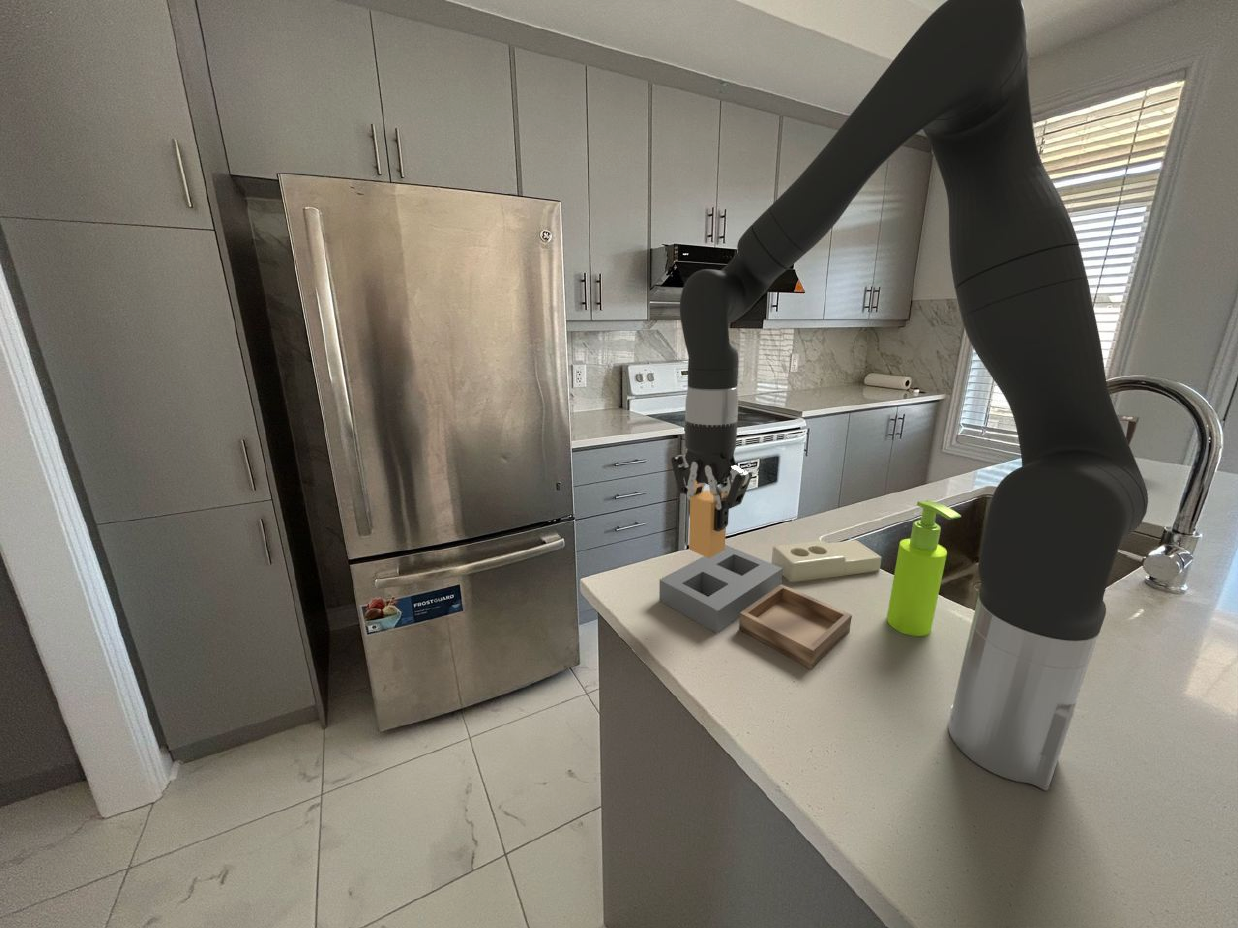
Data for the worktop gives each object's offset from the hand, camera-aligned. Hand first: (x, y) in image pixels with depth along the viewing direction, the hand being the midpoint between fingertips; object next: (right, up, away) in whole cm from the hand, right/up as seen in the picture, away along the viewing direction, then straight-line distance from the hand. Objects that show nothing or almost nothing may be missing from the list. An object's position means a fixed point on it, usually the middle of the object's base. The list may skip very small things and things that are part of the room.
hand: (707, 524), depth 75 cm
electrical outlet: (+25, -10, +16) cm, 31 cm away
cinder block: (+4, -13, +7) cm, 15 cm away
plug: (0, -4, +1) cm, 4 cm away
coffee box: (+126, +7, +62) cm, 140 cm away
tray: (+13, -16, -2) cm, 20 cm away
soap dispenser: (+31, -15, -2) cm, 34 cm away
